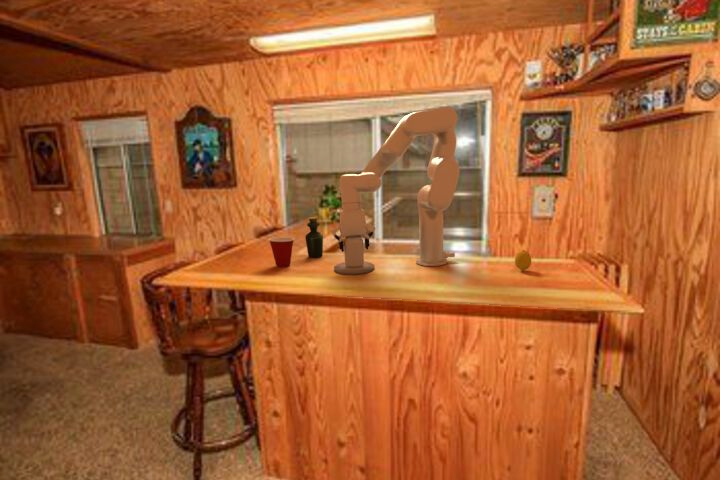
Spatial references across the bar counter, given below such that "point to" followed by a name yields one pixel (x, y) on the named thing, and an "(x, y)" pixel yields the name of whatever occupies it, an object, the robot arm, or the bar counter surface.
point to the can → (353, 251)
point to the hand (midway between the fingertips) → (354, 249)
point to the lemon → (523, 260)
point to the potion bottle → (314, 239)
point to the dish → (354, 269)
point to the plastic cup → (282, 250)
